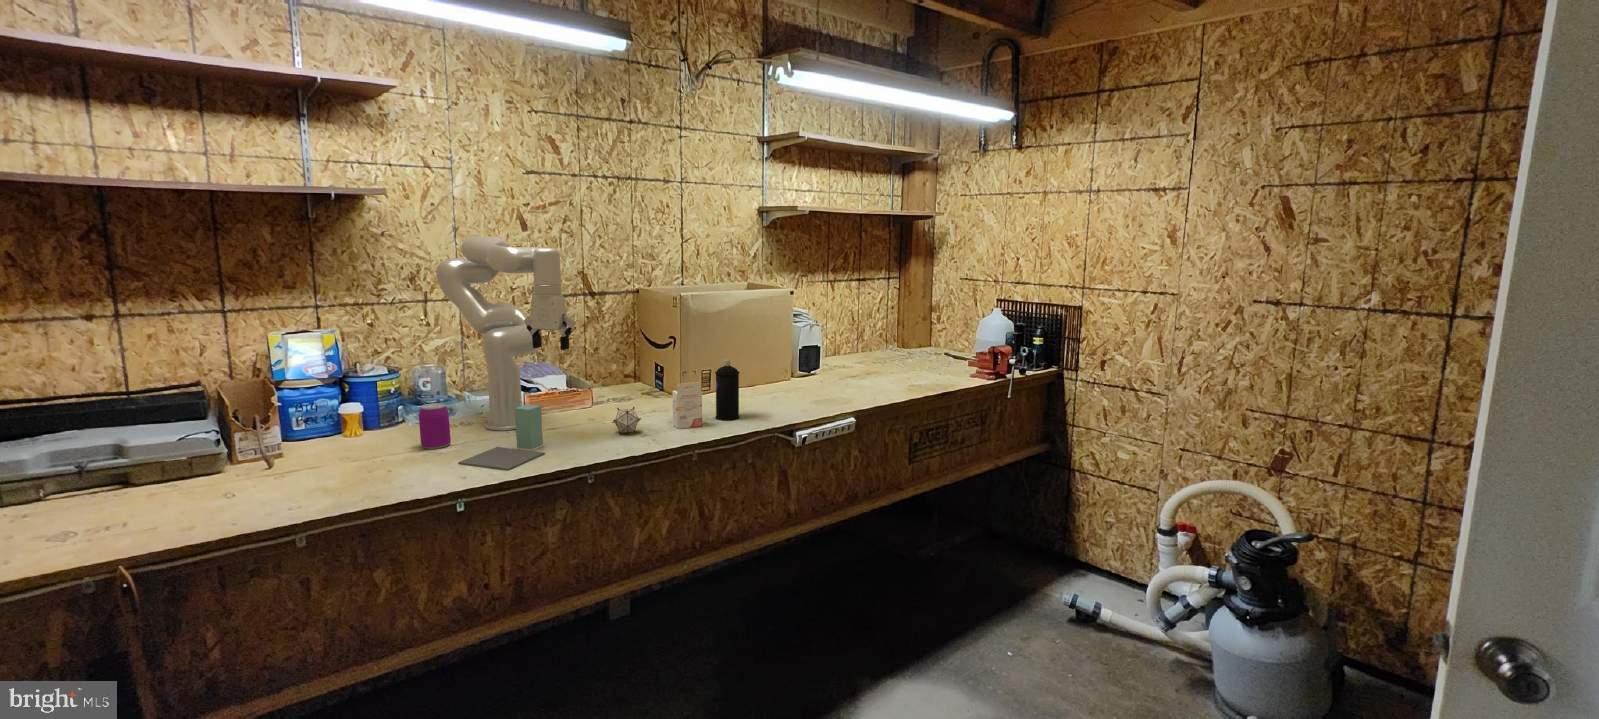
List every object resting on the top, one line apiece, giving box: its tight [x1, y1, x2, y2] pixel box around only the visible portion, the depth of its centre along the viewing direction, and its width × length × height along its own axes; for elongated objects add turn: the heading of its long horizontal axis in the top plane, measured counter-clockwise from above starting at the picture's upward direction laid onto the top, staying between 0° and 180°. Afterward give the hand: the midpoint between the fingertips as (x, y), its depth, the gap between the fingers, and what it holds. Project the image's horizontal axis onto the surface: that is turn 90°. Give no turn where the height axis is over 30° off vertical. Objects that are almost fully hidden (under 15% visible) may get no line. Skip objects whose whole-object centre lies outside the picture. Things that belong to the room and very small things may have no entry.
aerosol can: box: [714, 359, 740, 422], centre depth 240 cm, size 8×8×20 cm
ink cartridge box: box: [672, 381, 704, 430], centre depth 230 cm, size 9×5×15 cm, turn 118°
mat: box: [457, 446, 546, 471], centre depth 195 cm, size 16×15×1 cm
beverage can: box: [418, 402, 451, 450], centre depth 205 cm, size 8×8×12 cm
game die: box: [612, 406, 642, 435], centre depth 221 cm, size 9×8×10 cm
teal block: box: [515, 403, 544, 451], centre depth 205 cm, size 5×5×12 cm
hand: (551, 348), depth 211 cm, fingers open, 9 cm apart
